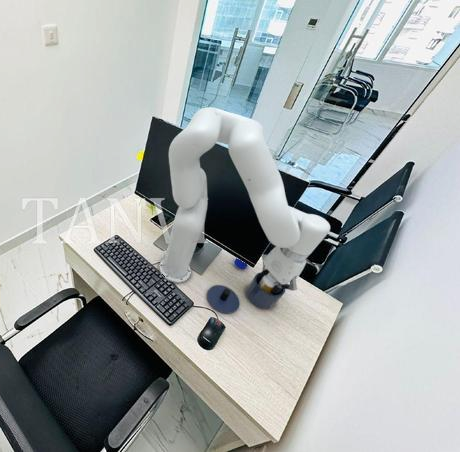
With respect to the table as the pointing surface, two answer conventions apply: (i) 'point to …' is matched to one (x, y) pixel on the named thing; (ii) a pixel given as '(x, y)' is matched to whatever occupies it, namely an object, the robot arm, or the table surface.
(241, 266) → the beverage can
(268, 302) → the pot
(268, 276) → the supplement bottle
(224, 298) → the lid
